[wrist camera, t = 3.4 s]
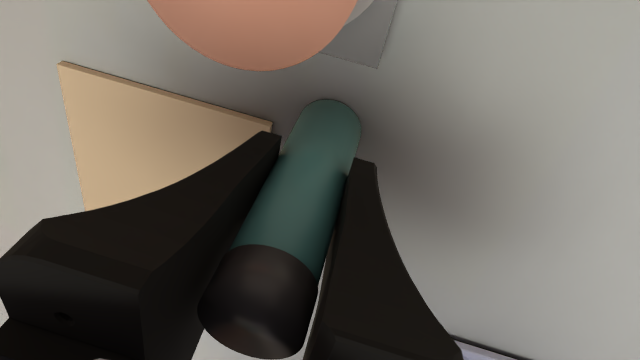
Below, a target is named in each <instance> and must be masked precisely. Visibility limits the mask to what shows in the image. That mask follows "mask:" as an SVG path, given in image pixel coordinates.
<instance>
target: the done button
mask: <svg viewBox="0 0 640 360" xmlns="http://www.w3.org/2000/svg"><path fill="white" fill-rule="evenodd" d="M357 1H358V0H148V2H149V3H150V5H151V6H152V8H153V9H154V11H155V12H156V13H157V15H158V16H159V17H160V18H161V20H162V21H163V22H164V23H165V24H166V25H167V27H168V28H169V29H170V30H171V31H172V32H174V33H175V34H176V35H177V36H178V37H179V38H180V39H181V40H182V41H184V42H185V43H186V44H187V45H189V46H190V47H191V48H193V49H194V50H196V51H198V52H199V53H201V54H202V55H204V56H206V57H208V58H210V59H212V60H214V61H216V62H218V63H221V64H224V65H227V66H230V67H234V68H238V69H243V70H251V71H272V70H278V69H284V68H287V67H290V66H293V65H296V64H299V63H301V62H303V61H305V60H307V59H309V58H311V57H312V56H314V55H315V54H316V53H318V52H319V51H321V50H322V49H323V48H324V47H325V46H326V45H328V44H329V43H330V42H331V41H332V40H333V39H334V37H335V36H336V35H337V34H338V33H339V31H340V30H341V29H342V27H343V26H344V24H345V22H346V21H347V19H348V18H349V16H350V14H351V12H352V10H353V8H354V7H355V5H356V3H357Z"/></svg>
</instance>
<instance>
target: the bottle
mask: <svg viewBox="0 0 640 360" xmlns="http://www.w3.org/2000/svg"><path fill="white" fill-rule="evenodd" d="M360 137H361V125H360V121H359V119H358V117H357V116H356V114H355V113H354V112H353V111H352V110H351V109H350V108H349V107H348V106H346V105H345V104H343V103H341V102H338V101H334V100H318V101H315V102H313V103H311V104H309V105H308V106H306V107H305V108H304V110H303V111H302V112H301V114H300V116H299V118H298V120H297V122H296V124H295V126H294V127H293V129H292V131H291V133H290V135H289V137H288V139H287V141H286V143H285V145H284V146H283V148H282V150H281V152H280V154H279V156H278V158H277V160H276V162H275V164H274V166H273V167H272V169H271V171H270V173H269V175H268V177H267V179H266V181H265V183H264V185H263V186H262V188H261V190H260V192H259V194H258V196H257V198H256V200H255V202H254V204H253V205H252V207H251V209H250V211H249V213H248V215H247V217H246V219H245V221H244V223H243V224H242V226H241V228H240V230H239V232H238V234H237V236H236V238H235V240H234V242H233V244H232V245H231V247H230V249H229V251H228V252H227V253H226V254H225V255H224V256H223V258H222V260H221V261H220V263H219V265H218V267H217V269H216V271H215V273H214V275H213V276H212V278H211V280H210V282H209V284H208V286H207V288H206V290H205V292H204V293H203V295H202V297H201V299H200V301H199V303H198V306H197V314H198V318H199V320H200V322H201V324H202V326H203V327H204V328H205V330H206V331H207V332H208V333H209V334H210V335H211V336H212V337H213V338H214V339H216V340H217V341H218V342H220V343H221V344H223V345H224V346H226V347H228V348H230V349H232V350H234V351H236V352H238V353H241V354H244V355H247V356H251V357H255V358H260V359H283V358H287V357H290V356H292V355H294V354H296V353H297V352H298V351H300V349H301V348H302V347H303V344H304V342H305V338H306V334H307V331H308V327H309V324H310V320H311V317H312V313H313V310H314V306H315V302H316V299H317V295H318V284H319V280H320V277H321V273H322V270H323V266H324V263H325V259H326V256H327V252H328V249H329V245H330V242H331V238H332V235H333V231H334V228H335V224H336V221H337V217H338V214H339V209H340V204H341V199H342V196H343V192H344V189H345V185H346V182H347V178H348V175H349V172H350V168H351V165H352V162H353V158H354V157H355V155H356V151H357V148H358V144H359V141H360Z"/></svg>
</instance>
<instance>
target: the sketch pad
mask: <svg viewBox="0 0 640 360" xmlns="http://www.w3.org/2000/svg"><path fill="white" fill-rule="evenodd" d="M57 69H58V74H59V79H60V84H61V89H62V94H63V99H64V104H65V110H66V115H67V120H68V125H69V130H70V135H71V140H72V145H73V150H74V155H75V161H76V166H77V171H78V176H79V181H80V186H81V191H82V196H83V201H84V207H85V211H89V210H94V209H98V208H102V207H106V206H110V205H114V204H117V203H121V202H124V201H128V200H131V199H134V198H137V197H139V196H142V195H145V194H148V193H151V192H154V191H157V190H159V189H162V188H164V187H167V186H169V185H171V184H174V183H176V182H178V181H180V180H182V179H184V178H186V177H188V176H190V175H192V174H194V173H196V172H197V171H199V170H201V169H203V168H205V167H206V166H208V165H210V164H212V163H213V162H215V161H217V160H218V159H220V158H221V157H223V156H224V155H226V154H228V153H229V152H231V151H232V150H234V149H235V148H237V147H238V146H240V145H241V144H242V143H244V142H245V141H247V140H248V139H250V138H251V137H252V136H254V135H255V134H257V133H258V132H260V131H266V132H269V133H271V130H272V123H273V122H270V121H267V120H263V119H260V118H256V117H253V116H249V115H246V114H243V113H239V112H236V111H232V110H229V109H225V108H222V107H218V106H215V105H212V104H208V103H205V102H201V101H198V100H194V99H191V98H188V97H184V96H181V95H177V94H174V93H170V92H167V91H163V90H160V89H157V88H153V87H150V86H146V85H143V84H139V83H136V82H133V81H129V80H126V79H122V78H119V77H115V76H112V75H109V74H105V73H102V72H98V71H95V70H91V69H88V68H84V67H81V66H78V65H74V64H71V63H67V62H64V61H61V62H60V63H58V64H57Z"/></svg>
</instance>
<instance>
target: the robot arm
mask: <svg viewBox="0 0 640 360" xmlns="http://www.w3.org/2000/svg"><path fill="white" fill-rule="evenodd" d="M281 138H282V136H280V135H276V134H273V133H269V132H266V131H260V132H258V133H257V134H255V135H254V136H252V137H251V138H250V139H248V140H247V141H245V142H244V143H242V144H241V145H240V146H238V147H237V148H235V149H234V150H232V151H231V152H229V153H228V154H226V155H224V156H223V157H221V158H220V159H218V160H217V161H215V162H213V163H212V164H210V165H208V166H206V167H205V168H203V169H201V170H199V171H197V172H196V173H194V174H192V175H190V176H188V177H186V178H184V179H182V180H180V181H178V182H176V183H174V184H171V185H169V186H167V187H164V188H162V189H159V190H157V191H154V192H151V193H148V194H145V195H142V196H139V197H137V198H134V199H131V200H128V201H124V202H121V203H117V204H114V205H110V206H106V207H102V208H98V209H94V210H89V211H85V212H80V213H74V214H69V215H63V216H58V217H53V218H46V219H42V220H41V221H40V222H39V223H38V224H36V225H35V226H34V227H33V228H32V229H30V230H29V231H28V232H27V233H26V234H25V235H24V236H23V237H22V238H21V239H20V240H19V241H18V242H17V243H16V244H15V245H14V246H13V247H12V248H11V249H10V250H8V251H7V252H6V253H5V254H4V255H3V256H2V257H1V258H0V297H1V299H2V302H3V304H4V306H5V309H6V311H7V313H8V315H9V319H8V320H7V321H6V322H5V323H4V324H3V325H2V326H1V327H0V360H191V359H192V357H193V354H194V352H195V349H196V347H197V344H198V342H199V340H200V337H201V335H202V333H203V330H204V327H203V326H202V324H201V322H200V320H199V318H198V314H197V306H198V303H199V301H200V299H201V297H202V295H203V293H204V292H205V290H206V288H207V286H208V284H209V282H210V280H211V278H212V276H213V275H214V273H215V271H216V269H217V267H218V265H219V263H220V261H221V260H222V258H223V256H224V255H225V254H226V253H227V252H228V251H229V249H230V247H231V245H232V244H233V242H234V240H235V238H236V236H237V234H238V232H239V230H240V228H241V226H242V224H243V223H244V221H245V219H246V217H247V215H248V213H249V211H250V209H251V207H252V205H253V204H254V202H255V200H256V198H257V196H258V194H259V192H260V190H261V188H262V186H263V185H264V183H265V181H266V179H267V177H268V175H269V173H270V171H271V169H272V167H273V166H274V164H275V162H276V160H277V158H278V156H279V150H280V144H281ZM303 360H517V359H513V358H510V357H507V356H504V355H501V354H497V353H494V352H491V351H488V350H484V349H481V348H478V347H475V346H472V345H468V344H465V343H462V342H459V341H455V340H453V339H452V338H451V336H450V335H449V334H448V333H447V331H446V330H445V329H444V328H443V326H442V325H441V324H440V323H439V322H438V320H437V319H436V317H435V316H434V315H433V313H432V312H431V310H430V309H429V307H428V306H427V305H426V303H425V301H424V300H423V298H422V296H421V295H420V293H419V291H418V289H417V288H416V286H415V284H414V283H413V281H412V279H411V278H410V276H409V274H408V272H407V270H406V268H405V266H404V264H403V262H402V259H401V257H400V255H399V253H398V251H397V248H396V246H395V243H394V241H393V238H392V235H391V232H390V229H389V227H388V224H387V220H386V217H385V213H384V210H383V206H382V202H381V198H380V193H379V187H378V181H377V167H376V166H375V164H374V163H372V162H368V161H365V160H361V159H358V158H355V157H354V158H353V162H352V165H351V168H350V172H349V175H348V178H347V182H346V185H345V189H344V192H343V196H342V199H341V204H340V209H339V214H338V217H337V221H336V224H335V228H334V231H333V235H332V238H331V242H330V245H329V249H328V252H327V257H326V262H325V268H324V274H323V279H322V285H321V291H320V296H319V301H318V306H317V310H316V314H315V318H314V321H313V325H312V329H311V332H310V336H309V339H308V343H307V346H306V350H305V353H304V357H303Z"/></svg>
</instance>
